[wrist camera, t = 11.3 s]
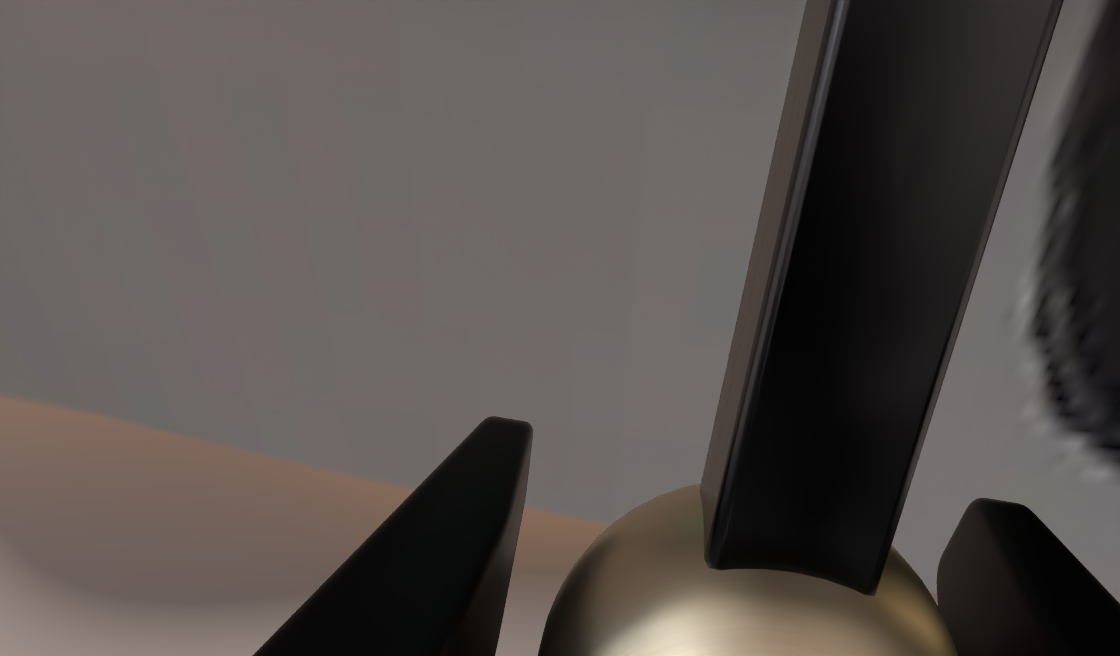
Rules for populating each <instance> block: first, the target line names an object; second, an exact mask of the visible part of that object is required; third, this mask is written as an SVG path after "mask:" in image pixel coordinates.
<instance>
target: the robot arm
mask: <svg viewBox="0 0 1120 656" xmlns="http://www.w3.org/2000/svg"><path fill="white" fill-rule="evenodd" d="M532 438H533V428H532V426H531V425H530V424H529V423H528V422H525V421H519V420H513V419H507V418H501V417H495V416H492V417H488V418H486V419H485V420H484V421H483V422H481V423H480V424H479V425H478V426H477V427H476V428H475V429H474V430H473V432H472V433H471V434H470V435H469V436H468V437H467V438H466V439H465V440H464V441H463V442H462V443H461V444H460V445H459V446H458V447H457V448H456V449H455V450H454V451H453V452H452V453H451V454H450V455H449V456H448V457H447V458H446V459H445V460H444V461H443V462H442V463H441V464H440V465H439V466H438V467H437V468H436V469H435V470H434V471H433V472H432V473H431V474H430V475H429V476H428V477H427V478H426V479H425V480H424V481H423V482H422V484H421V485H420V486H419V487H418V488H417V489H416V490H415V491H414V492H413V493H412V494H411V495H410V496H409V497H408V498H407V499H406V500H405V501H404V502H403V503H402V504H401V505H400V506H399V507H398V508H397V509H396V510H395V511H394V512H393V513H392V514H391V515H390V516H389V517H388V518H387V519H386V520H385V521H384V522H383V523H382V524H381V525H380V526H379V528H377V529H376V531H374V533H372V535H371V536H370V537H369V538H368V539H367V540H366V541H365V542H364V543H363V544H362V545H361V546H360V547H359V548H358V549H357V550H356V551H355V552H354V553H353V554H352V555H351V556H350V557H349V558H348V559H347V560H346V561H345V562H344V563H343V564H342V565H341V566H340V567H339V568H338V569H337V570H336V571H335V572H334V573H333V574H332V575H331V576H330V577H329V578H328V579H327V580H326V581H325V582H324V583H323V584H322V585H321V586H320V588H319V589H318V590H317V591H316V592H315V593H314V594H313V595H312V596H311V597H310V598H309V599H308V600H307V601H306V602H305V603H304V604H303V605H302V606H301V607H300V608H299V609H298V610H297V611H296V612H295V613H294V614H293V615H292V616H291V617H290V618H289V619H288V620H287V621H286V622H285V623H284V624H283V625H282V626H281V627H280V628H279V629H278V630H277V631H276V632H275V633H274V635H273V636H271V637H270V639H269V640H268V641H267V642H266V643H265V644H264V645H263V646H262V647H261V648H260V649H259V650H258V651H257V652H256V653H255V654H254V655H253V656H495V653H496V648H497V643H498V639H499V633H500V628H501V623H502V618H503V613H504V608H505V603H506V598H507V592H508V587H509V582H510V577H511V571H512V566H513V561H514V555H515V551H516V545H517V540H518V535H519V529H520V524H521V519H522V514H523V509H524V503H525V497H526V490H527V481H528V473H529V464H530V456H531V447H532ZM937 596H938V608H939V610H940V612H941V614H942V615H943V617H944V620H945V622H946V624H947V627H948V629H949V631H950V634H951V636H952V638H953V641H954V645H955V648H956V651H957V654H958V656H1120V604H1119V602H1118V601H1117V600H1116V599H1115V598H1114V597H1113V596H1112V595H1111V594H1110V593H1109V592H1108V591H1107V590H1106V589H1105V588H1104V587H1103V586H1102V585H1101V583H1100V582H1099V581H1098V580H1097V579H1096V578H1095V577H1094V576H1093V575H1092V574H1091V573H1090V572H1089V571H1088V570H1087V569H1086V568H1085V567H1084V566H1083V564H1082V563H1081V562H1080V561H1079V560H1078V559H1077V558H1076V557H1075V556H1074V555H1073V554H1072V553H1071V552H1070V551H1069V550H1068V549H1067V548H1066V547H1065V545H1064V544H1063V543H1062V542H1061V541H1060V540H1059V539H1058V538H1057V537H1056V536H1055V535H1054V534H1053V533H1052V532H1051V531H1050V530H1049V529H1048V528H1047V527H1046V525H1045V524H1044V523H1043V522H1042V521H1041V520H1040V519H1039V518H1038V517H1037V516H1036V515H1035V514H1034V513H1033V512H1032V511H1031V510H1030V509H1029V508H1027V507H1026V506H1024V505H1021V504H1018V503H1012V502H1006V501H1000V500H994V499H989V498H979V499H976V500H974V501H973V502H972V503H970V505H969V506H968V508H967V509H966V511H965V513H964V515H963V517H962V518H961V520H960V522H959V524H958V526H957V528H956V530H955V532H954V533H953V535H952V537H951V539H950V541H949V543H948V545H947V547H946V549H945V550H944V552H943V554H942V557H941V559H940V562H939V566H938V572H937Z"/></svg>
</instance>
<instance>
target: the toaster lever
mask: <svg viewBox="0 0 1120 656" xmlns="http://www.w3.org/2000/svg"><path fill="white" fill-rule="evenodd" d="M1063 1H1064V0H807V1H806V6H805V11H804V15H803V20H802V24H801V29H800V33H799V38H798V43H797V47H796V52H795V56H794V61H793V66H792V70H791V75H790V79H789V84H788V88H787V93H786V98H785V102H784V107H783V111H782V116H781V120H780V125H779V130H778V134H777V139H776V143H775V148H774V152H773V157H772V162H771V166H770V171H769V175H768V180H767V184H766V189H765V194H764V198H763V203H762V207H761V212H760V217H759V221H758V226H757V230H756V235H755V239H754V244H753V249H752V253H751V258H750V262H749V267H748V271H747V276H746V281H745V285H744V290H743V294H742V299H741V303H740V308H739V313H738V317H737V322H736V326H735V331H734V335H733V340H732V345H731V349H730V354H729V358H728V363H727V368H726V372H725V377H724V381H723V386H722V390H721V395H720V400H719V404H718V409H717V413H716V418H715V422H714V427H713V432H712V436H711V441H710V445H709V450H708V454H707V459H706V464H705V468H704V473H703V477H702V482H701V484H697V485H693V486H688V487H684V488H680V489H677V490H674V491H671V492H669V493H666V494H663V495H660V496H658V497H656V498H654V499H652V500H650V501H648V502H646V503H644V504H642V505H640V506H639V507H637V508H635V509H634V510H632V511H630V512H629V513H628V514H626V515H625V516H623V517H622V518H620V519H619V520H617V521H616V522H614V523H613V524H612V525H611V526H610V527H609V528H607V529H606V530H605V531H604V532H603V533H602V534H601V535H600V536H599V537H597V539H596V540H595V541H594V542H593V543H592V544H591V545H590V547H589V548H588V549H587V550H586V551H585V553H584V554H583V555H582V556H581V557H580V558H579V560H578V561H577V562H576V563H575V564H574V566H573V568H572V569H571V571H570V573H569V574H568V576H567V578H566V579H565V581H564V582H563V584H562V586H561V588H560V590H559V592H558V594H557V596H556V598H555V601H554V603H553V605H552V608H551V610H550V613H549V615H548V618H547V621H546V625H545V628H544V632H543V636H542V640H541V644H540V649H539V653H538V656H958V654H957V651H956V648H955V645H954V641H953V638H952V636H951V634H950V631H949V629H948V627H947V624H946V622H945V620H944V617H943V615H942V614H941V612H940V610H939V608H938V606H937V604H936V602H935V601H934V599H933V597H932V596H931V594H930V593H929V591H928V589H927V588H926V586H925V585H924V583H923V581H922V580H921V579H920V577H919V576H918V575H917V574H916V573H915V571H914V570H913V569H912V568H911V566H910V565H909V564H908V563H907V562H906V561H905V559H904V558H903V557H902V556H901V555H900V554H899V553H898V551H897V550H896V549H895V548H894V547H893V546H892V545H891V544H892V541H893V538H894V535H895V532H896V529H897V525H898V522H899V519H900V516H901V513H902V510H903V507H904V503H905V500H906V497H907V494H908V491H909V488H910V484H911V481H912V478H913V475H914V472H915V469H916V465H917V462H918V459H919V456H920V453H921V450H922V446H923V443H924V440H925V437H926V434H927V431H928V427H929V424H930V421H931V418H932V415H933V412H934V409H935V405H936V402H937V399H938V396H939V393H940V390H941V386H942V383H943V380H944V377H945V374H946V371H947V367H948V364H949V361H950V358H951V355H952V352H953V348H954V345H955V342H956V339H957V336H958V333H959V330H960V326H961V323H962V320H963V317H964V314H965V311H966V307H967V304H968V301H969V298H970V295H971V292H972V288H973V285H974V282H975V279H976V276H977V273H978V269H979V266H980V263H981V260H982V257H983V254H984V250H985V247H986V244H987V241H988V238H989V235H990V232H991V228H992V225H993V222H994V219H995V216H996V213H997V209H998V206H999V203H1000V200H1001V197H1002V194H1003V190H1004V187H1005V184H1006V181H1007V178H1008V175H1009V171H1010V168H1011V165H1012V162H1013V159H1014V156H1015V152H1016V149H1017V146H1018V143H1019V140H1020V137H1021V134H1022V130H1023V127H1024V124H1025V121H1026V118H1027V115H1028V111H1029V108H1030V105H1031V102H1032V99H1033V96H1034V92H1035V89H1036V86H1037V83H1038V80H1039V77H1040V73H1041V70H1042V67H1043V64H1044V61H1045V58H1046V54H1047V51H1048V48H1049V45H1050V42H1051V39H1052V36H1053V32H1054V29H1055V26H1056V23H1057V20H1058V17H1059V13H1060V10H1061V7H1062V4H1063Z"/></svg>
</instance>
